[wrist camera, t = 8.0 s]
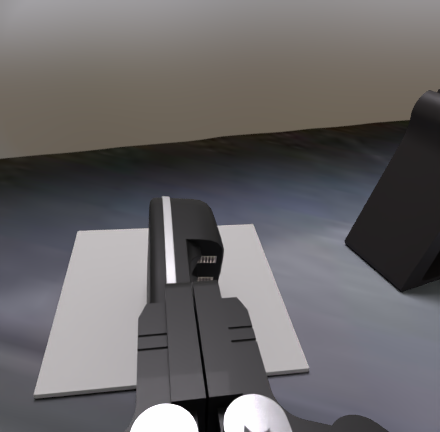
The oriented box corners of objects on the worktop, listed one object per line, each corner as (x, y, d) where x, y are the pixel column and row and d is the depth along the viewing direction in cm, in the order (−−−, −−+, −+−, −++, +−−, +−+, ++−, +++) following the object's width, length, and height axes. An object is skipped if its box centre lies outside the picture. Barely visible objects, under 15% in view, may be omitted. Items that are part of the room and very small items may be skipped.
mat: (34, 398, 19) (33, 395, 19) (78, 234, 31) (77, 231, 31) (308, 371, 21) (309, 368, 21) (252, 227, 33) (253, 224, 33)
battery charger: (257, 343, 14) (214, 186, 24) (150, 346, 13) (150, 183, 23) (229, 443, 18) (202, 273, 27) (144, 450, 17) (146, 274, 27)
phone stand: (424, 223, 35) (478, 85, 29) (486, 264, 30) (566, 111, 24) (343, 244, 32) (384, 93, 25) (399, 292, 27) (466, 124, 21)
